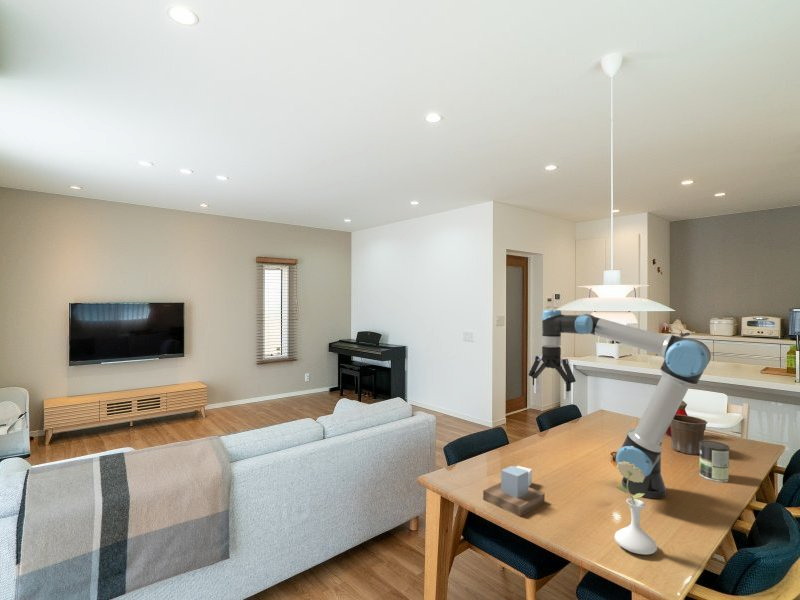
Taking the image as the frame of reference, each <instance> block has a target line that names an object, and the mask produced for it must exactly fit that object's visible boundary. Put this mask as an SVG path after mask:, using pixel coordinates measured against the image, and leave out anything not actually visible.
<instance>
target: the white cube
mask: <svg viewBox="0 0 800 600" xmlns="http://www.w3.org/2000/svg"><path fill="white" fill-rule="evenodd" d="M516 467H517V468H520V469H523V470H526V471H528V487H531V485H532V484H533V469H532V468H528V467H524V466H521V465H516Z"/></svg>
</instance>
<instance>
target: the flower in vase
mask: <svg viewBox="0 0 800 600" xmlns="http://www.w3.org/2000/svg"><path fill="white" fill-rule="evenodd" d="M616 469H617V470H618V472H619V473H620V475H621V476H624V477H625V478H628V480H627V489H626V488H625V487H623V486H622V484H621V485H620V484H619V485H617V486H616V487H615V488H616V489H618V490H620V491H622V492H623V493H625V494H626V493H628V494H629V496H630V498H627V499H626V500H625V502H626V503H627V504H628V506H629V509H630V516H631V519H630V520H631V522H630V524H628V525H627V526H625V527H622V528H620V529H619V530H617V531H616V532H615V534H614V540H615V542H616V543H617V544H618V545H619V546H620V547H621V548H623V549H625V550H627V551H629V552H630V553H633V554H637V555H638V554H639V555H646V556H647V555H653V554H654V553H656V552H657V550H658V544H657V543H656V541H655V540H654V539H653V538H652V537H651V535H649V533H647V532H646V531H645V530H643V529H642V527H641V523H640V521H641V520H640V519H641V513H642V509H643V508H644V507H645V506H646V503H645V502H644V501H642V500H640V499H639V498H641V497H642V496H643V495H644V494H645V493H644V494H642V493H638V494H633V496H632V493H630V492H629V490H628V481H629V480H630V481H633V482H638V483H639V482H643V480H644V479H645V477H644V475H643V474H642V471H641V470H640V469H639V468H636V467H635V465H634V464H630V463H629V462H625V461H623V462H620V463H618V464H617V465H616ZM642 498H643V497H642Z"/></svg>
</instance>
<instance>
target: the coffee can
mask: <svg viewBox="0 0 800 600" xmlns="http://www.w3.org/2000/svg"><path fill="white" fill-rule="evenodd" d="M699 444H700V454H699V467H698V468H699V470H698V471H699V472H698V473H699V474H698V475H699V476H700V477H702V478H704V479H706V480H707V481H708V480H709V481H712V482H719V483H726V482H729V480H730V475H729V472H730V469H729V467H730V466H729V465H730V464H729V463H730V461H729V460H730V446H729V445H728V444H725V443H723V442H720V441H716V440H708V439H706V440H705V439H703V441H700V442H699Z"/></svg>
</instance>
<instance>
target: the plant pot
mask: <svg viewBox="0 0 800 600" xmlns="http://www.w3.org/2000/svg"><path fill="white" fill-rule="evenodd" d="M707 424H708V421H707V420H705V419H703V418H700V417H697V416H690V415H688V416H685V415H675V416H674V418H673V419H672V421H671V423H670V425H671V436H672V437H671V446H672V447H671V448H672V449H673V450H674V451H676V452H680V453H683V454H685V455H691V456H693V455H695V456H698V455H700V444H699V442H700V441H703V440H704V436H705V435H704V434H705V431H706V428H707Z"/></svg>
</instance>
